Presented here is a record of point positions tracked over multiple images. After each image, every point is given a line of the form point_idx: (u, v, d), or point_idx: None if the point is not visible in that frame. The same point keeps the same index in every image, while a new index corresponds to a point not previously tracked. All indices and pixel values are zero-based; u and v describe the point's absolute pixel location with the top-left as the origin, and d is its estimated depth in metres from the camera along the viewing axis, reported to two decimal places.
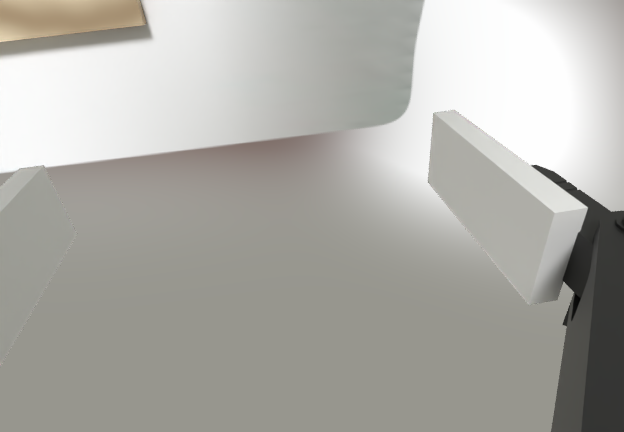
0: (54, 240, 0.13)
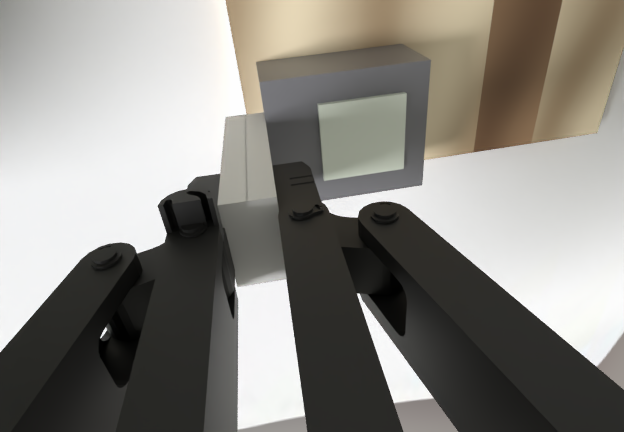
0: None
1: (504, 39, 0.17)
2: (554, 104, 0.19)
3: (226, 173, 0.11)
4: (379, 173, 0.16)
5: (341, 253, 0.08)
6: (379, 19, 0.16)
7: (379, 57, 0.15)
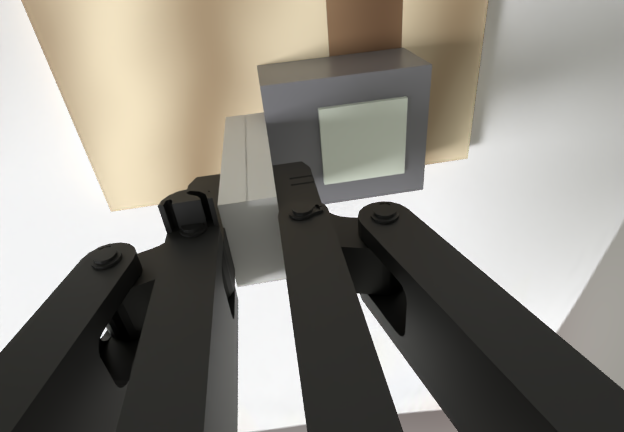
0: None
1: None
2: None
3: (226, 173, 0.11)
4: (380, 177, 0.16)
5: (341, 253, 0.08)
6: (205, 46, 0.16)
7: (380, 61, 0.15)
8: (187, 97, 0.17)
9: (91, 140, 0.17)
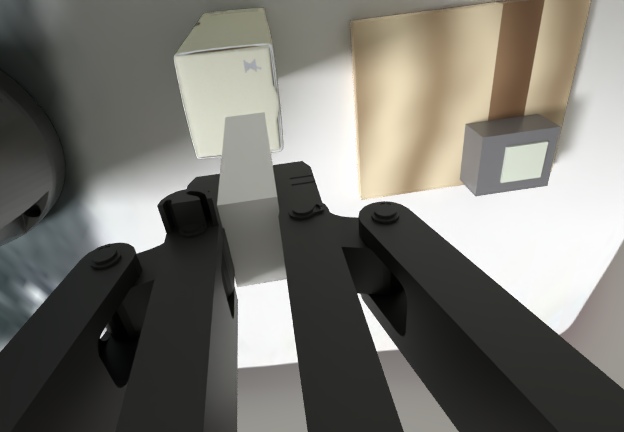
0: None
1: None
2: None
3: (226, 173, 0.11)
4: (527, 179, 0.33)
5: (341, 253, 0.08)
6: (430, 118, 0.32)
7: (532, 123, 0.32)
8: (415, 141, 0.33)
9: (364, 163, 0.34)
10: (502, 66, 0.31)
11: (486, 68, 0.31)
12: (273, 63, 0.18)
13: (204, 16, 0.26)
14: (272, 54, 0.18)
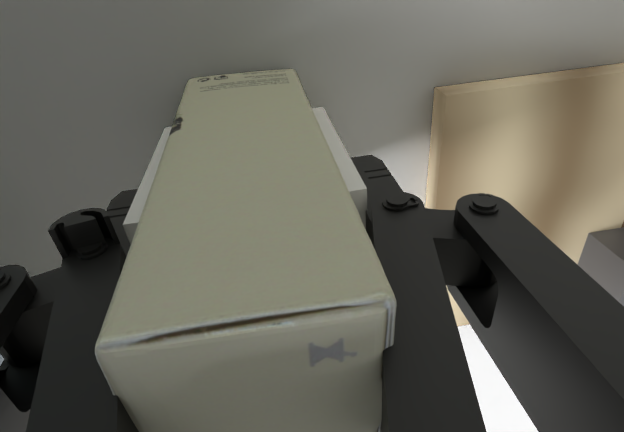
0: None
1: None
2: None
3: (143, 189, 0.11)
4: None
5: (434, 249, 0.08)
6: (540, 227, 0.21)
7: None
8: None
9: None
10: None
11: None
12: (390, 337, 0.06)
13: (191, 91, 0.14)
14: (392, 320, 0.06)
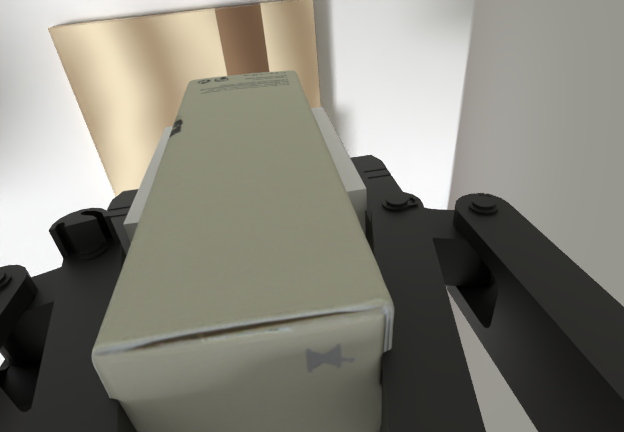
0: None
1: None
2: None
3: (144, 189, 0.11)
4: None
5: (433, 249, 0.08)
6: None
7: None
8: None
9: (112, 175, 0.32)
10: None
11: None
12: (388, 343, 0.06)
13: (191, 93, 0.14)
14: (390, 326, 0.06)
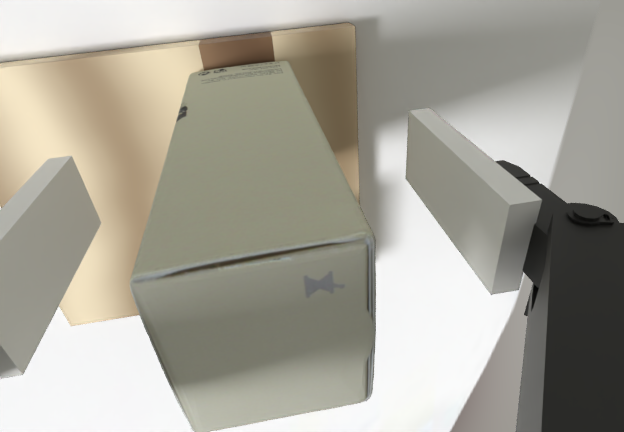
0: (82, 227, 0.14)
1: None
2: None
3: None
4: None
5: None
6: (138, 216, 0.20)
7: None
8: (126, 249, 0.21)
9: None
10: None
11: None
12: (372, 271, 0.07)
13: (193, 84, 0.15)
14: (372, 256, 0.07)
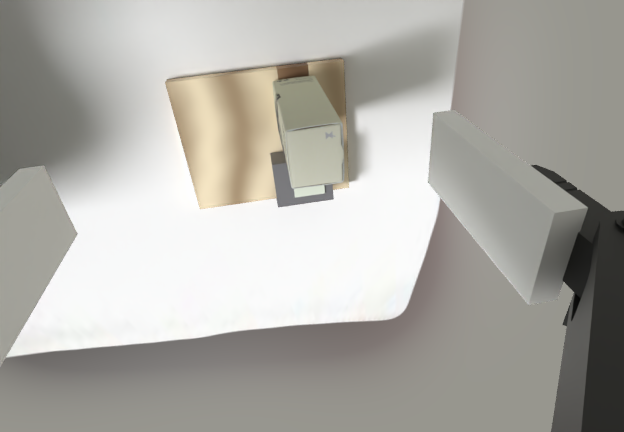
0: (54, 240, 0.13)
1: None
2: None
3: None
4: (316, 195, 0.44)
5: None
6: (241, 148, 0.43)
7: None
8: (233, 166, 0.44)
9: (196, 181, 0.44)
10: None
11: None
12: (342, 133, 0.30)
13: (277, 85, 0.38)
14: (342, 128, 0.30)
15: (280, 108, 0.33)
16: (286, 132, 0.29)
